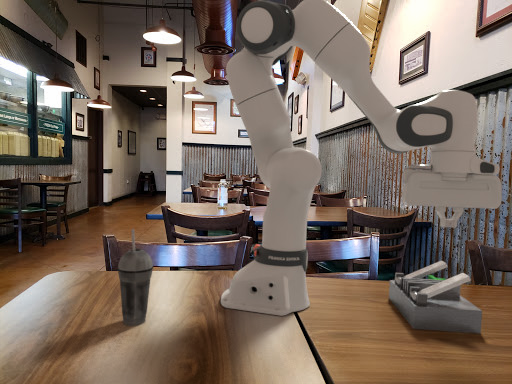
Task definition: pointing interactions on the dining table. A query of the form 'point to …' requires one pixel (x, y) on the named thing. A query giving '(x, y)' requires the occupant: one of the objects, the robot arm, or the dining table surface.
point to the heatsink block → (434, 307)
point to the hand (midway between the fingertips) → (448, 227)
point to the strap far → (424, 271)
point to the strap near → (442, 286)
